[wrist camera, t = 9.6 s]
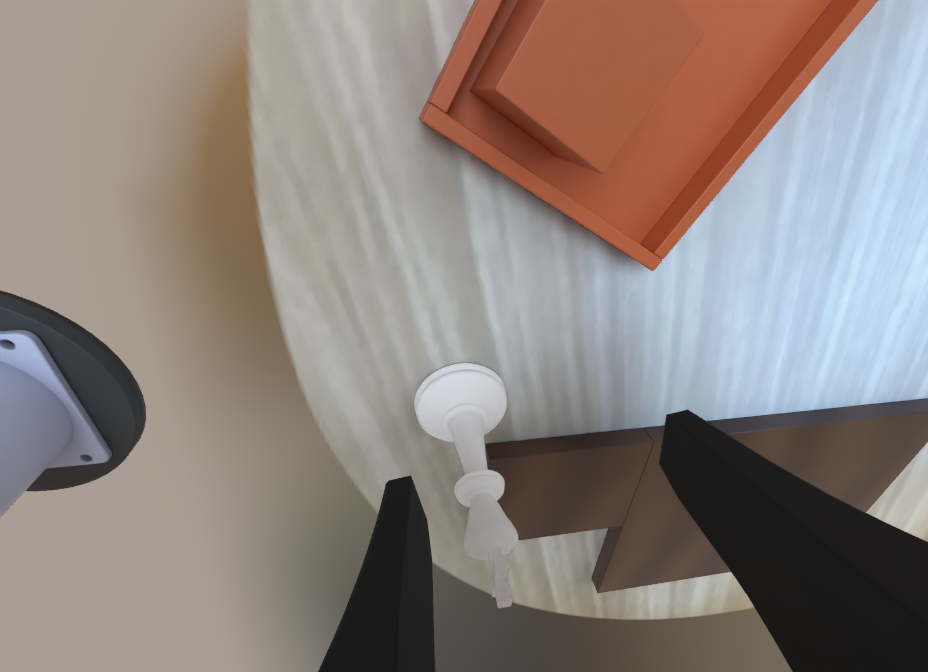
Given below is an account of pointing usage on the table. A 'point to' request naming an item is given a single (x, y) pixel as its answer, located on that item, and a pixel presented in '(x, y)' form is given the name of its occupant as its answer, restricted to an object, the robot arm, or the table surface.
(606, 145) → the terracotta block
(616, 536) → the walnut board
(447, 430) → the chess piece
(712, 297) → the table surface
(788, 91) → the clay tray
